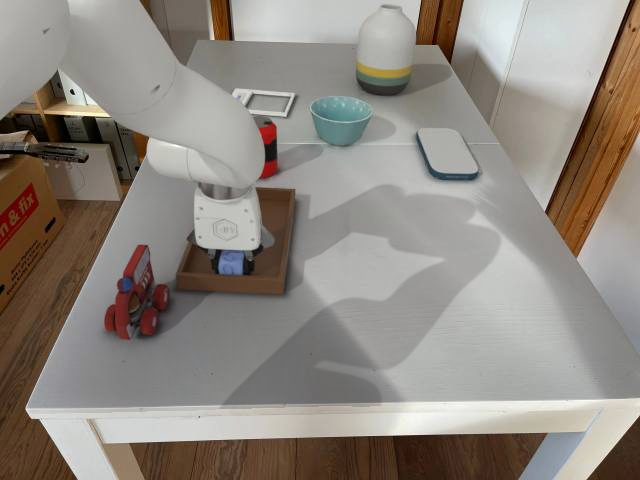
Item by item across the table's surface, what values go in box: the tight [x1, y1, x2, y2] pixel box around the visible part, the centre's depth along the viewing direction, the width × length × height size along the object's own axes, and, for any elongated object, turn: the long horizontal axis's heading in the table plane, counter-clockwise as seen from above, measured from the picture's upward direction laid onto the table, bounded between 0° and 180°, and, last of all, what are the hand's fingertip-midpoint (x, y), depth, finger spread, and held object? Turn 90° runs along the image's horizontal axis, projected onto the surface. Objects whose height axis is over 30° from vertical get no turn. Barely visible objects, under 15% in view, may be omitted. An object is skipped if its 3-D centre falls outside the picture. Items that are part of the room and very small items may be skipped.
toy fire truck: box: [103, 244, 170, 341], centre depth 75 cm, size 7×12×10 cm, turn 175°
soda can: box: [252, 115, 278, 179], centre depth 110 cm, size 8×8×12 cm
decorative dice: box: [219, 250, 245, 275], centre depth 84 cm, size 4×4×4 cm
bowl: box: [309, 95, 374, 147], centre depth 125 cm, size 16×16×8 cm
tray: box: [175, 186, 296, 296], centre depth 93 cm, size 28×18×3 cm, turn 178°
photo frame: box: [230, 87, 296, 118], centre depth 142 cm, size 15×1×18 cm
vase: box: [355, 3, 417, 96], centre depth 148 cm, size 17×17×24 cm
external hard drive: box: [415, 127, 480, 181], centre depth 122 cm, size 24×12×2 cm, turn 1°
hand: (233, 271), depth 85 cm, fingers closed on decorative dice, 4 cm apart
